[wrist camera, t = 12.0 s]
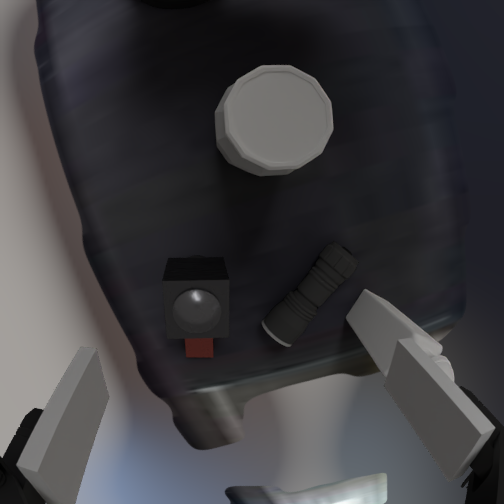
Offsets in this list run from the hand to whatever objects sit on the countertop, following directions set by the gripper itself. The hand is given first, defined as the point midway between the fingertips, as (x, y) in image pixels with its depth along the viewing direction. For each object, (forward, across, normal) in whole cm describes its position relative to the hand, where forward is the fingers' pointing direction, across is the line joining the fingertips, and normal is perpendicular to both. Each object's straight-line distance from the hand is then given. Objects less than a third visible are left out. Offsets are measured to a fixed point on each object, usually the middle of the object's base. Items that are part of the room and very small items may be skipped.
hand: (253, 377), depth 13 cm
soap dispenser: (+31, +22, -13) cm, 40 cm away
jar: (+31, +3, +12) cm, 33 cm away
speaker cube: (+28, -4, -7) cm, 30 cm away
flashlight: (+31, +11, -9) cm, 34 cm away
